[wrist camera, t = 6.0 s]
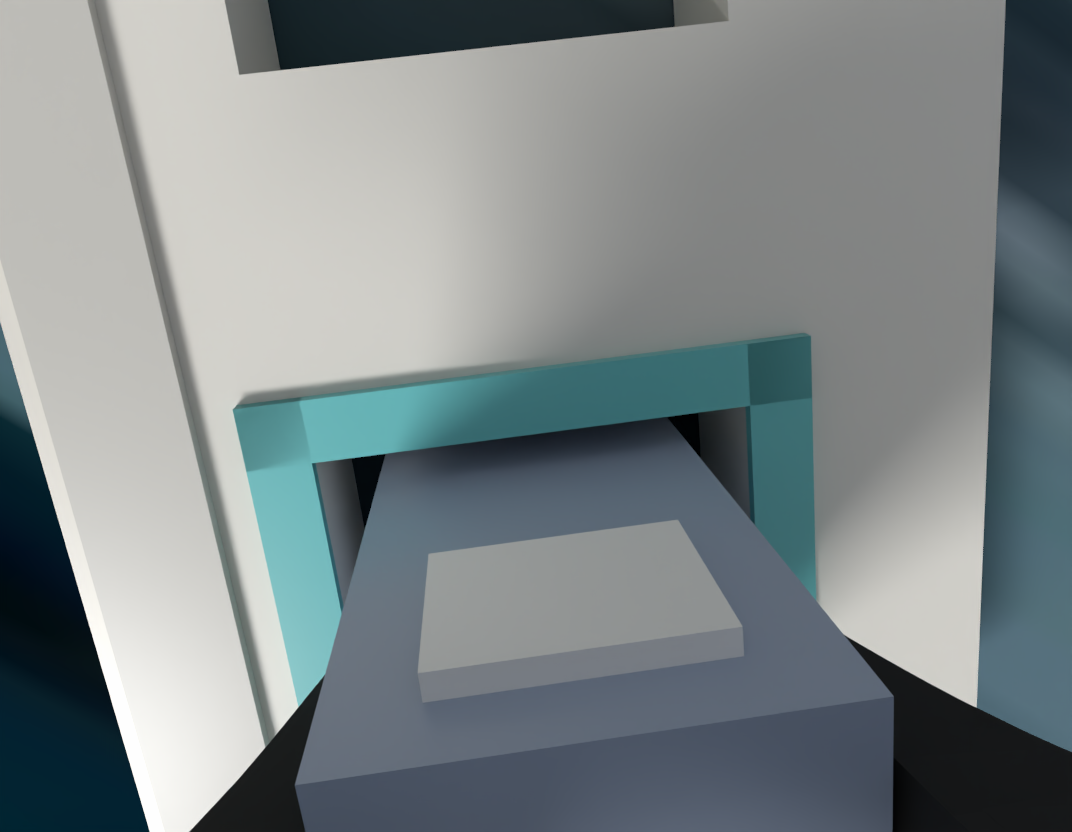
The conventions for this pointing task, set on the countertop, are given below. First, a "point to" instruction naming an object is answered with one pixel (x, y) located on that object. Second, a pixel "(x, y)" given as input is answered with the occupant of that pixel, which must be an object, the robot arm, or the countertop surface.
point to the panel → (487, 311)
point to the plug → (586, 656)
